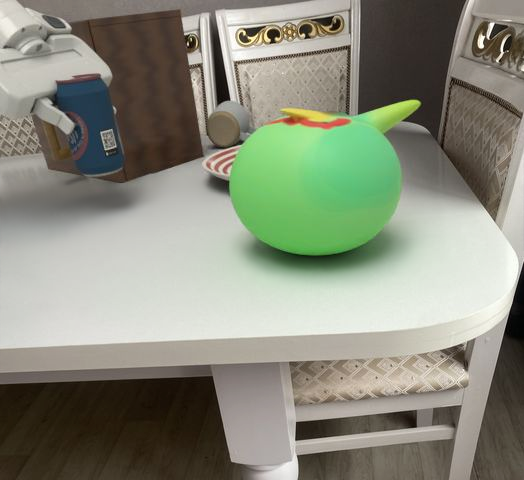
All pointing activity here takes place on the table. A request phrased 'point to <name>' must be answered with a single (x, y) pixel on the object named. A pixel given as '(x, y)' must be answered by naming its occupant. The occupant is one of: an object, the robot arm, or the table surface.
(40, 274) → the table surface
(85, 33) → the cupboard door
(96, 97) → the soda can
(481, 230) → the table surface
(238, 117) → the ceramic mug
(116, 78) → the cupboard
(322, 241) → the toy bird
